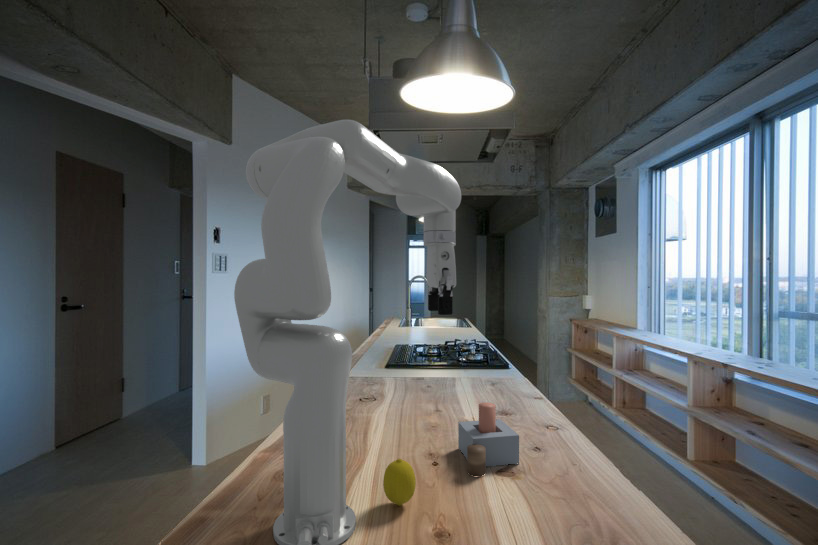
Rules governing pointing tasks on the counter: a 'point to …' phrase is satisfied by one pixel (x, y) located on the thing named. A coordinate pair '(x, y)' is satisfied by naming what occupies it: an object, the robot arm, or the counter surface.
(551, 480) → the counter surface
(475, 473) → the short pin
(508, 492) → the counter surface
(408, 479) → the lemon
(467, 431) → the hole block
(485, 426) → the long pin
